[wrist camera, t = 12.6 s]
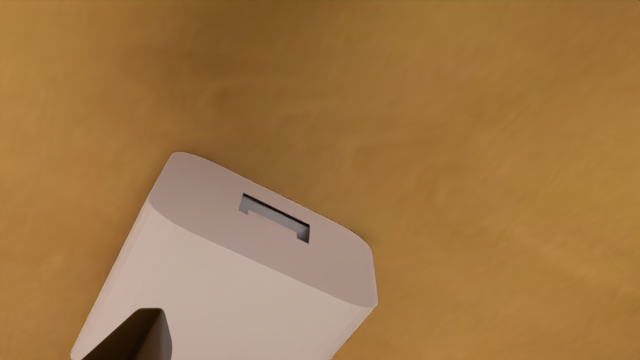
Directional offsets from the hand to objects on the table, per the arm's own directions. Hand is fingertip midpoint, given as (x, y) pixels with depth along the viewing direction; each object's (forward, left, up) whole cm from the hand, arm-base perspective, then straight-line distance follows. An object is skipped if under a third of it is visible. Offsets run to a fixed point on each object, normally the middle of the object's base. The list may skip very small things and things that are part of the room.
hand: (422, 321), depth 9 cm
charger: (-4, +13, -12) cm, 18 cm away
